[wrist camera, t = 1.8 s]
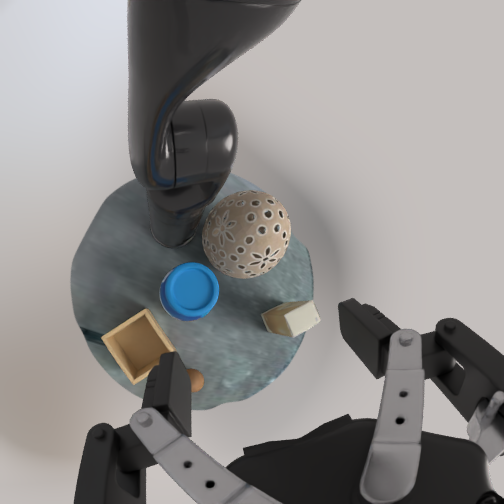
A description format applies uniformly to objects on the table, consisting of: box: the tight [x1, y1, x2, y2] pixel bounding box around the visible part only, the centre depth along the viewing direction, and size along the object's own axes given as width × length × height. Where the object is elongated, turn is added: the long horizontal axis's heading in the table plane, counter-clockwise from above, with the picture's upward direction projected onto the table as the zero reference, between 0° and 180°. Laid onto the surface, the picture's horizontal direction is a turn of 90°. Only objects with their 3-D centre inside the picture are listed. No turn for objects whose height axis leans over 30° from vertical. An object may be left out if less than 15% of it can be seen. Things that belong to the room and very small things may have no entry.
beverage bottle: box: [160, 262, 219, 321], centre depth 41 cm, size 8×8×20 cm
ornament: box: [202, 190, 291, 279], centre depth 47 cm, size 15×15×20 cm
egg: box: [187, 369, 204, 392], centre depth 45 cm, size 4×4×6 cm
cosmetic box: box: [261, 300, 321, 337], centre depth 50 cm, size 6×4×12 cm
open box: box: [101, 308, 176, 385], centre depth 43 cm, size 9×9×8 cm
